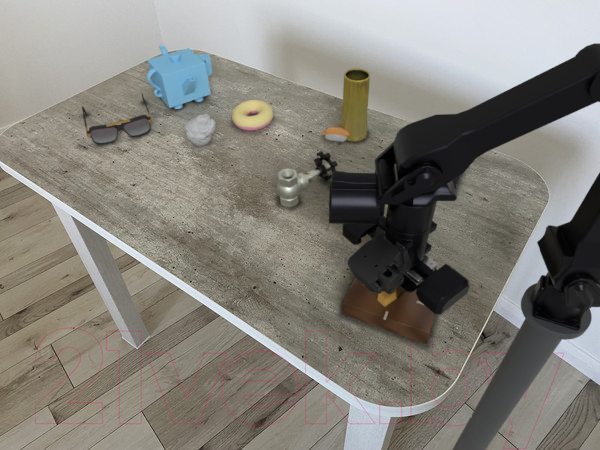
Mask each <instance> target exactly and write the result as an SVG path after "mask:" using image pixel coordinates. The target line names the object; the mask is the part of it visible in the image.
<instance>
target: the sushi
mask: <svg viewBox="0 0 600 450" xmlns="http://www.w3.org/2000/svg"><path fill="white" fill-rule="evenodd" d="M320 136H324V138H325V139H326V140H327V141H330V142H337V143H338V142H341V143H342V142H345V141H347V140H346V139H347V137H350V134H349V133H348V131H346V130H344V129H343V128H341V127H340V126H329V127H327V128H326V129H325V131H323V132H320Z"/></svg>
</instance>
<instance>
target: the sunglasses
mask: <svg viewBox="0 0 600 450" xmlns="http://www.w3.org/2000/svg"><path fill="white" fill-rule="evenodd" d="M141 97H142V101H143V103H144V105H145V109H146V112H147V114H148V116H147V115H146V114H141V115H138V116H134V117H132V118H131V117H130V118H127V119H123V120H119V121H118V120H117V121H114V122H110V123H106V124H98V125H92V126H90V127H88V124H87V120H86V116H88V114H87V111H86V109H85V107H84V105H83V106H81V111H82V116H83V122H84V123H83V124H84V127H85V134H86V137H87V138H91V140H92V142H93V143H94V144H97V145H107V144H111V143H113V142H116V141H117V140H118V135H119V132H121V131H122V132H124V133H126V134H127V135H128V136H129V137H133V138H135V137H140V136H144V135H146V134H149V132H150V131H151V130H152V126H151V124H152V123H153V119H152V116H151V114H150V111H149V108H148V105H147V102H146V100H145V99H146V98H145V97H144V94H143V93H141Z"/></svg>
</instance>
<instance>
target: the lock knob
mask: <svg viewBox="0 0 600 450" xmlns="http://www.w3.org/2000/svg"><path fill="white" fill-rule="evenodd" d="M396 291H397V289H396V290H395V291H394V292H393V293H392V294H387V293H386V292H384V291H383V292H381V293H380V294H378V299H377V300H378V301H379V302H380V303H381V304H382V305H383V306H384V307H385V306H387V305H388V304H390V303H391V302H392V301H394V300H395V299H396V298H397V297H396Z"/></svg>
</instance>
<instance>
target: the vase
mask: <svg viewBox="0 0 600 450" xmlns="http://www.w3.org/2000/svg"><path fill="white" fill-rule="evenodd" d="M370 79H371V74H370V72H369V71H367V70H366V69H364V68H360V67H359V68H357V67H355V68H350V69H348V70H346V71H344V73H343V88H342V90H343V91H342V104H341V112H340V113H341V115H340V124H339V127H341V128H343V129H344V130H346V131H348V133H349V134H350V137H347V139H346V140H345V141H348V142H360V141H362V140H364V139H365V138H366V137H367V135H368V109H369V108H368V107H369V94H370Z"/></svg>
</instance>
